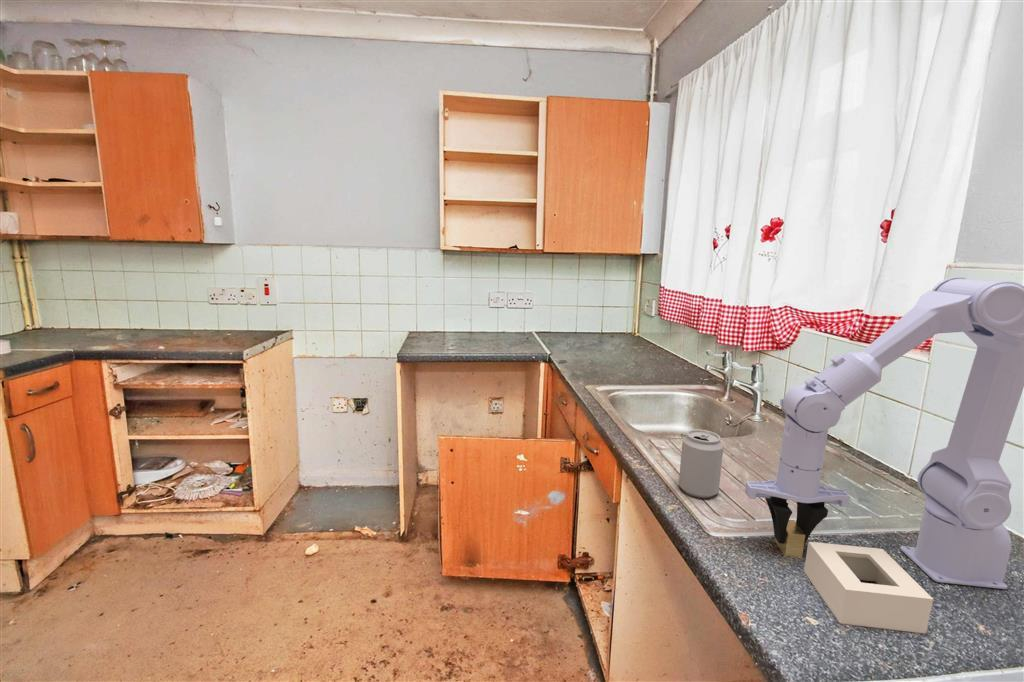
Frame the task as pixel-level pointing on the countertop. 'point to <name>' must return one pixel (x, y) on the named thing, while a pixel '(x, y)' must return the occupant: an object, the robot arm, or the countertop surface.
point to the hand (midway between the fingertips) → (789, 540)
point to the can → (701, 463)
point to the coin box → (867, 587)
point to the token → (793, 540)
